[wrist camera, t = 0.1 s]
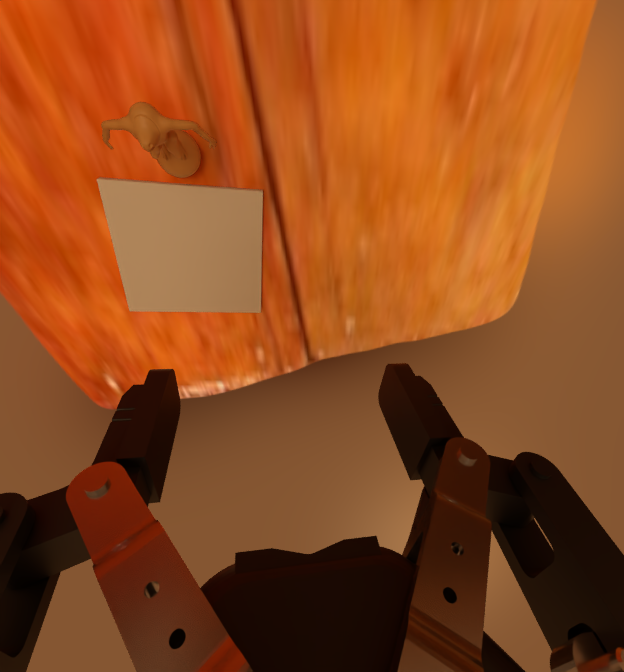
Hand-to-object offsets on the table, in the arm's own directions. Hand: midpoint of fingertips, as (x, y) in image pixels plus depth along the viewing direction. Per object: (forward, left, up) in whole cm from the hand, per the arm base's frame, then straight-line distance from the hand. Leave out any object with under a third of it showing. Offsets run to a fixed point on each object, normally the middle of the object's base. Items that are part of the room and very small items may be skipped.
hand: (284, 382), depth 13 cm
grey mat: (+7, -8, -29) cm, 31 cm away
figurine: (-5, -8, -29) cm, 31 cm away
